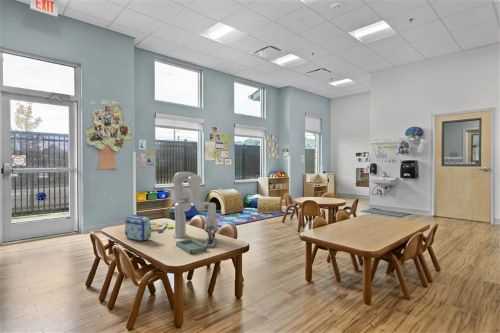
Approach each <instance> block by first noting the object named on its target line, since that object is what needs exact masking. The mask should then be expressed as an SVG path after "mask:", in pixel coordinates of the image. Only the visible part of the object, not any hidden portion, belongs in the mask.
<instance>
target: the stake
mask: <svg viewBox="0 0 500 333" xmlns="http://www.w3.org/2000/svg"><path fill="white" fill-rule="evenodd" d="M213 228H214V226H210V227H207V229H209V237H208V238H209V242H208V245H212V243H213V241H212V240H211V232H212V230H211V229H213Z"/></svg>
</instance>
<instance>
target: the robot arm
mask: <svg viewBox="0 0 500 333" xmlns="http://www.w3.org/2000/svg"><path fill="white" fill-rule="evenodd" d="M202 181H203V179H202V178H201V176H200V175H199V174H196V173H194V172H191V171H179V172H178V171H177V172H176V173H175V174H174V176H173V180H172V182H173V186H174V188H173V190H174V199H175V201H178V202H177V203H175V204H174V206H173V211H174V230H175V231H174V234H173V238H174V239H175V238H176V239H182V238H183V239H185V238H186V237H188V234H187V233H186V231H187V229H186V228H187V226H186V224H187V223H186V221H187V220H186V218H187V217H186V214H185V212H188V211H190V210H191V208H192V202H193V206H194V207H195V209H196V212H197V211H198V212H200V213H201V212H204V211H205V212H207V213H206V214H207V215H206V219H205V228H204V229H203V231H204V232H206V233H207V235H208V236H207V238H209V229H207V227H210V226H214V228H213V229H211V231H212V232H213V238H216V234H217V232H219V231H220V229H219V227H218V219H217V218H218V216H219V215H217V204H216V203H215V202H209V201H203V202H202V201H201V199H200V195H201V193H202V192H203V189H202V187H201V185H200V184H201V183H202ZM183 182H188V185H189V187H190V190H191V192H192V196H191V192H190V191H189V190H188V189H184V187H185V185H184V184H183ZM191 197H192V200H191Z"/></svg>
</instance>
